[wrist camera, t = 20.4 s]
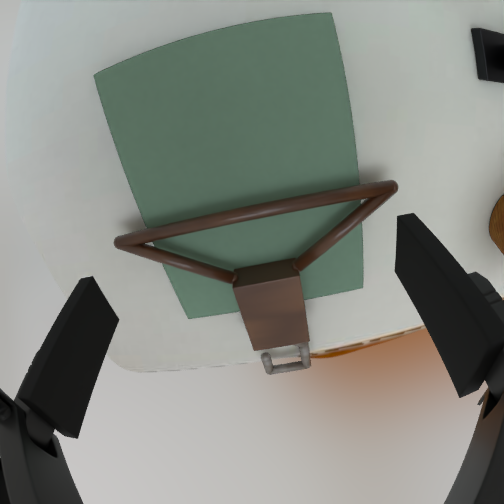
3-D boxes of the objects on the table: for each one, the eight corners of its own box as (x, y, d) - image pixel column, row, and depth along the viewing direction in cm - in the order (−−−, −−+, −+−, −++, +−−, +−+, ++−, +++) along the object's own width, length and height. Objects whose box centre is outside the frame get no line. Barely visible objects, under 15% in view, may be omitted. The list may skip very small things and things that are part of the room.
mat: (361, 283, 26) (363, 288, 26) (189, 314, 28) (188, 319, 27) (329, 14, 14) (331, 12, 14) (96, 74, 16) (93, 74, 16)
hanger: (117, 230, 22) (194, 372, 32) (106, 246, 20) (191, 389, 30) (390, 173, 20) (382, 340, 30) (404, 185, 18) (389, 357, 28)
